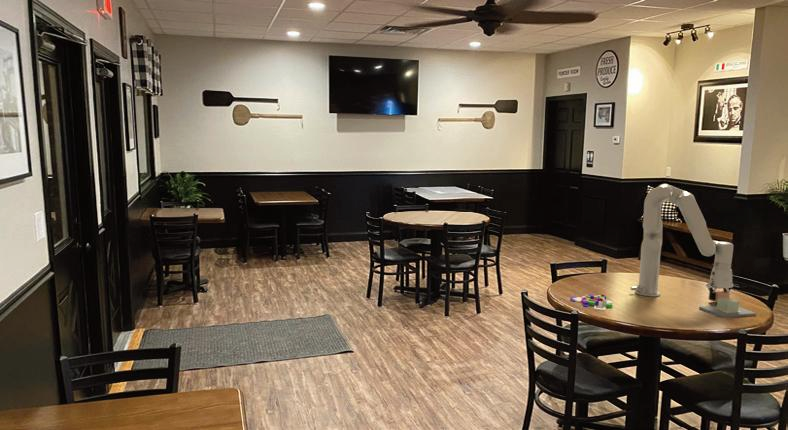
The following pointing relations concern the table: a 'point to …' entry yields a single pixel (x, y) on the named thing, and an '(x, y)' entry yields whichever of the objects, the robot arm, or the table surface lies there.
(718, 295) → the terracotta block
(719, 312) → the slate baseplate
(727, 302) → the sage green block
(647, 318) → the table surface
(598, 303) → the building block set
